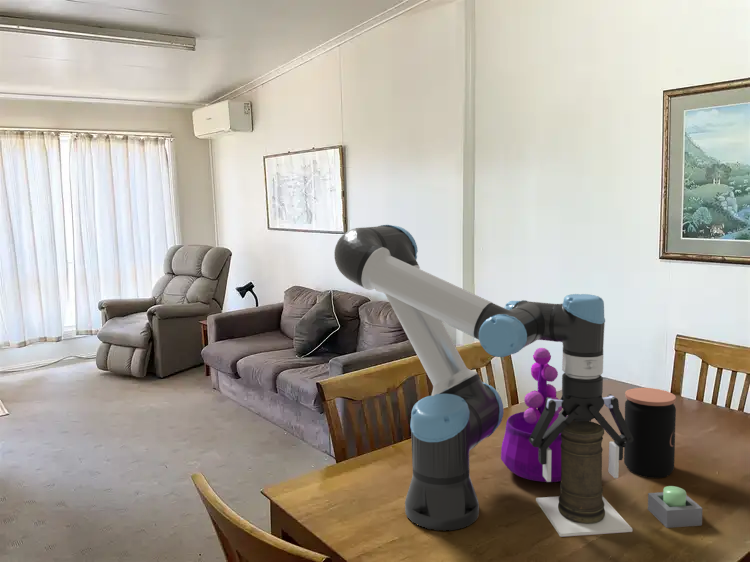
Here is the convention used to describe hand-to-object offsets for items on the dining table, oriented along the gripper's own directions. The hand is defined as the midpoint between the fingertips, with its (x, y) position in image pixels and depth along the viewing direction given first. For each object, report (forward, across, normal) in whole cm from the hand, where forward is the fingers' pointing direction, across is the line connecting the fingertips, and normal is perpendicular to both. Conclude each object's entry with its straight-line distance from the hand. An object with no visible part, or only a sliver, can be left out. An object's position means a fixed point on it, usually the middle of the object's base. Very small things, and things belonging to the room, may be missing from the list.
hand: (580, 477), depth 119 cm
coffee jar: (+8, +24, +18) cm, 31 cm away
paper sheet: (+8, 0, 0) cm, 8 cm away
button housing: (+8, +18, -3) cm, 20 cm away
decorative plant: (+8, -1, +19) cm, 21 cm away
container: (+8, 0, 0) cm, 8 cm away
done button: (+8, +18, -3) cm, 20 cm away
